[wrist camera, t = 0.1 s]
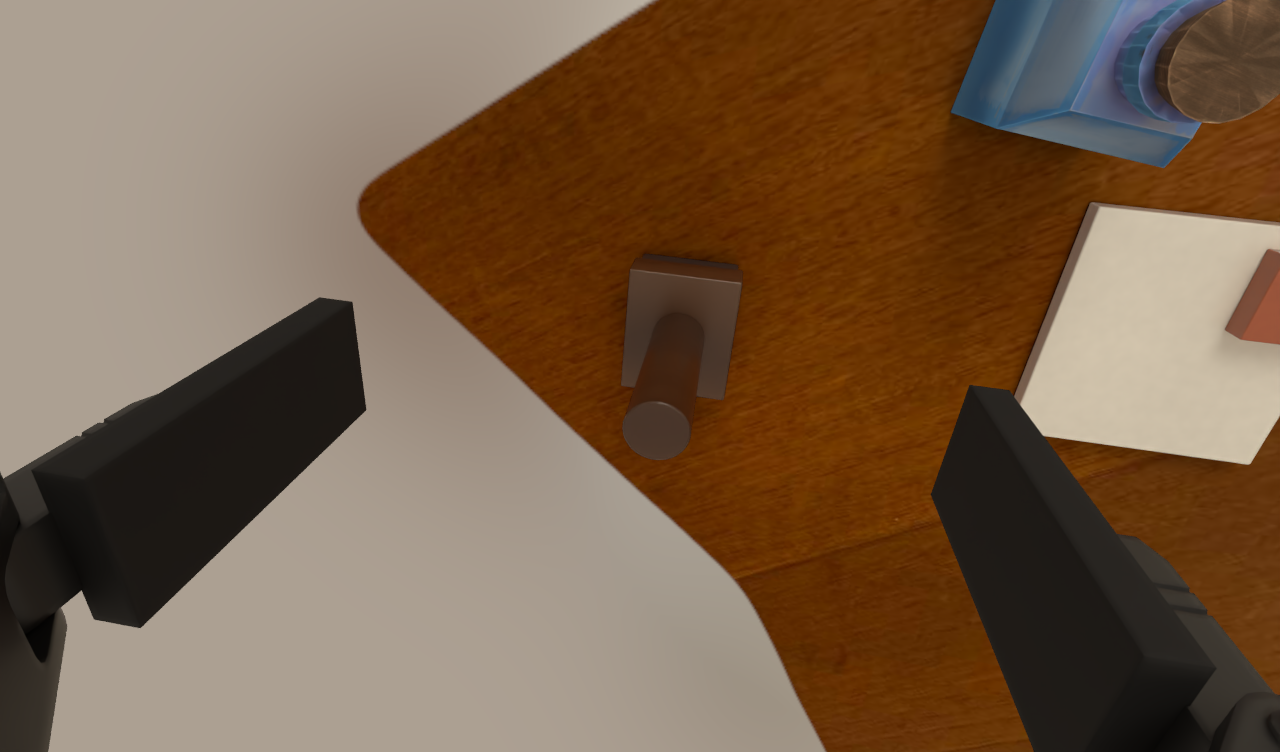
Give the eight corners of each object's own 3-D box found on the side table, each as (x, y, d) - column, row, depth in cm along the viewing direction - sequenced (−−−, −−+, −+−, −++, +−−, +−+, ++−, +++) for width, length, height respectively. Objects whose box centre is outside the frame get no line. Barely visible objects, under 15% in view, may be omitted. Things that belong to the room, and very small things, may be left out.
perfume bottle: (1166, -14, 27) (1443, -49, 16) (1087, 144, 30) (1276, 202, 19) (1014, -48, 27) (1188, -105, 16) (950, 112, 30) (1062, 152, 19)
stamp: (640, 248, 35) (590, 345, 24) (743, 261, 34) (740, 366, 23) (631, 357, 38) (582, 489, 27) (725, 370, 37) (716, 510, 26)
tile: (1089, 201, 31) (1099, 206, 30) (1371, 232, 29) (1390, 238, 29) (1003, 422, 36) (1009, 431, 35) (1237, 454, 35) (1250, 465, 34)
